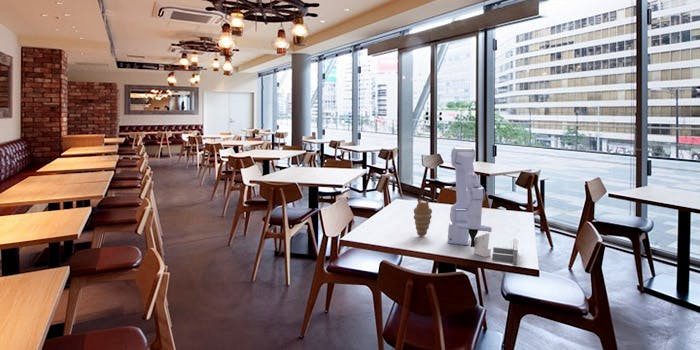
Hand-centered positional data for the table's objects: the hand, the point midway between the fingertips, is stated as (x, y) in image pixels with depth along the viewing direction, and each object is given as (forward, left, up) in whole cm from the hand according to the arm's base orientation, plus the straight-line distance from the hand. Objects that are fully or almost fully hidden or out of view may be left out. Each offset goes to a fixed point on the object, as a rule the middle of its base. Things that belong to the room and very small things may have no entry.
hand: (472, 246), depth 198 cm
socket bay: (+12, 0, -3) cm, 13 cm away
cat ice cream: (-26, +20, -3) cm, 33 cm away
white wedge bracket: (+4, 0, -3) cm, 5 cm away
